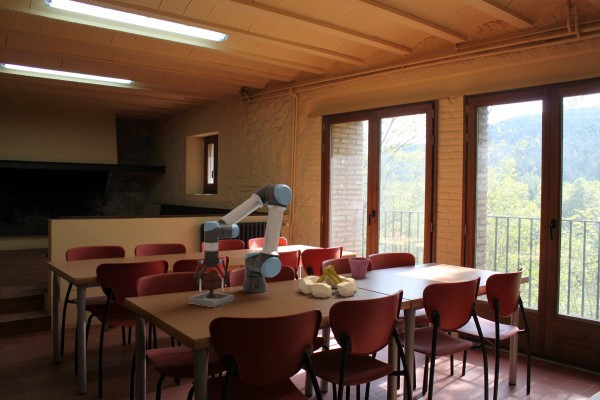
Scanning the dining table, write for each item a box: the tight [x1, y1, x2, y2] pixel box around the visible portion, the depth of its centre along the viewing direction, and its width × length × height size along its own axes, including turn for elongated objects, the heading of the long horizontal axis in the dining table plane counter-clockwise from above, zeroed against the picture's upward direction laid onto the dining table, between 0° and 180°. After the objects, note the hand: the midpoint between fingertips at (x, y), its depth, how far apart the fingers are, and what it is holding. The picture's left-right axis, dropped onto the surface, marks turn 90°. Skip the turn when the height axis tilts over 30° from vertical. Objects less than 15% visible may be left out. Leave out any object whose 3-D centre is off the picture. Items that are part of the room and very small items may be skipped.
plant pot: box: [348, 257, 370, 279], centre depth 345 cm, size 14×14×13 cm
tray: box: [187, 291, 235, 307], centre depth 266 cm, size 17×17×4 cm
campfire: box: [298, 264, 359, 299], centre depth 296 cm, size 35×34×17 cm
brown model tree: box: [201, 269, 222, 299], centre depth 266 cm, size 11×11×15 cm
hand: (211, 290), depth 266 cm, fingers closed on brown model tree, 11 cm apart
